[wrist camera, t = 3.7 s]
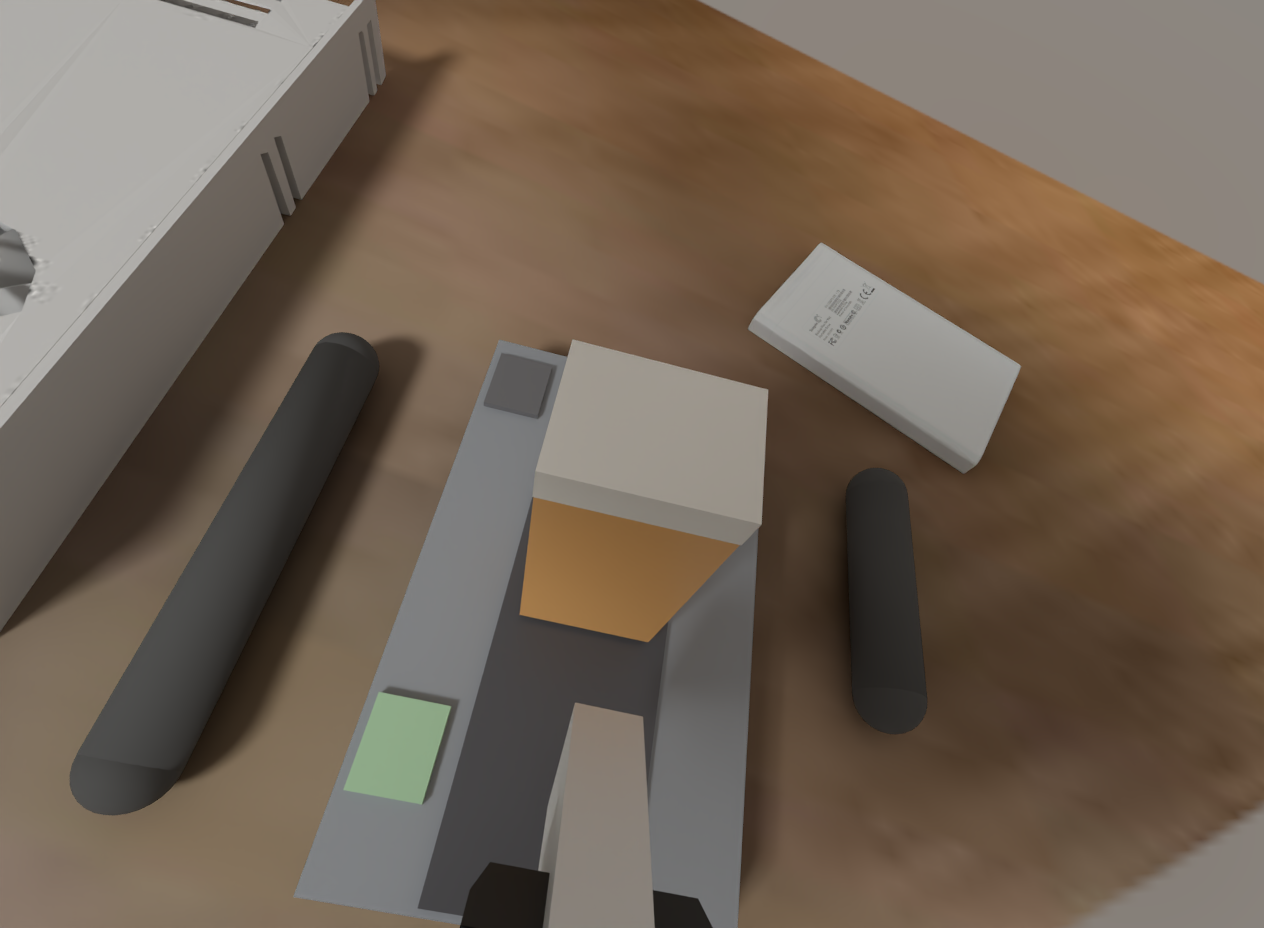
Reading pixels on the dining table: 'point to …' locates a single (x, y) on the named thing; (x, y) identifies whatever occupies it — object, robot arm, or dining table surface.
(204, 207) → the power supply unit
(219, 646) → the dark grey rounded rod
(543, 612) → the block
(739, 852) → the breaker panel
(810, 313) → the external hard drive
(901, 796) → the dining table surface
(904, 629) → the dark grey capsule rod
